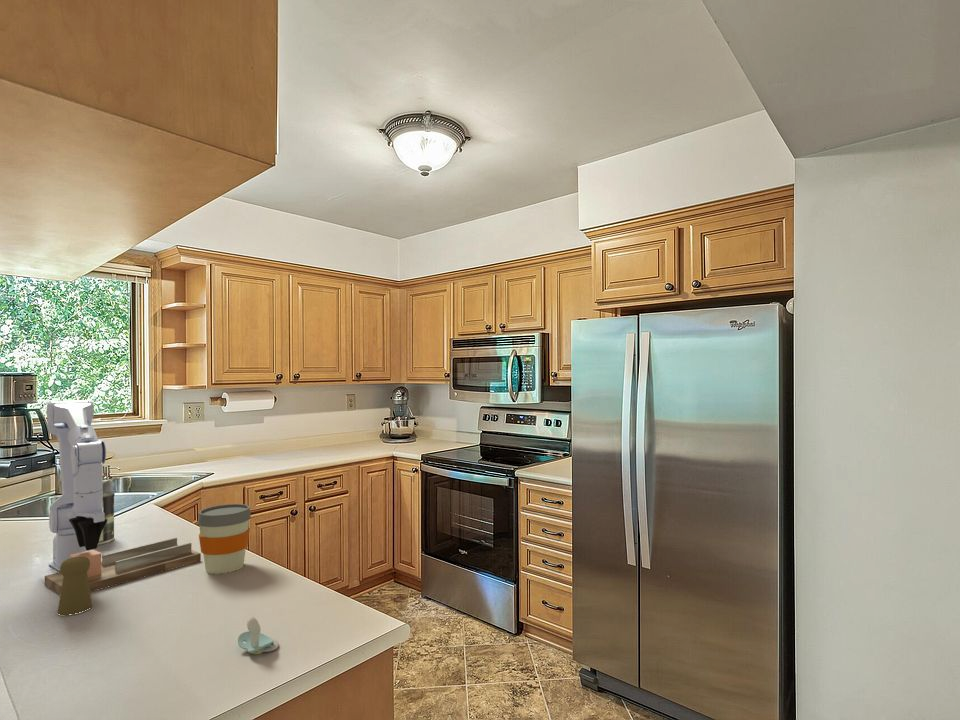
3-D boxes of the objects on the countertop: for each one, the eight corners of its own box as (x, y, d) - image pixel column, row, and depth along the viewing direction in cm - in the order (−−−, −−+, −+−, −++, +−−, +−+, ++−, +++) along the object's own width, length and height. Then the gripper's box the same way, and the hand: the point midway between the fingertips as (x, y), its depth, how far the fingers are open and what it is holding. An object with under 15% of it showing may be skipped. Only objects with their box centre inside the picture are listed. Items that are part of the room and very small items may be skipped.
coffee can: (105, 535, 172) (105, 490, 172) (120, 540, 166) (121, 493, 167) (66, 543, 163) (66, 496, 164) (82, 549, 158) (82, 500, 158)
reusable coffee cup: (205, 580, 132) (205, 518, 133) (191, 567, 142) (191, 509, 142) (258, 568, 140) (257, 509, 141) (242, 556, 150) (241, 501, 150)
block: (69, 576, 131) (69, 555, 131) (93, 569, 135) (93, 549, 135) (76, 580, 128) (76, 559, 128) (101, 573, 132) (101, 553, 132)
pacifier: (263, 637, 104) (233, 649, 99) (264, 604, 104) (234, 614, 99) (286, 649, 99) (255, 662, 94) (286, 614, 99) (256, 625, 95)
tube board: (44, 584, 131) (44, 565, 131) (174, 550, 155) (174, 534, 155) (66, 598, 122) (66, 578, 122) (200, 560, 146) (200, 544, 147)
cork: (73, 617, 113) (73, 563, 113) (49, 615, 114) (50, 562, 114) (99, 604, 119) (99, 554, 119) (76, 602, 120) (76, 552, 120)
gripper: (58, 490, 134) (57, 546, 133) (79, 498, 125) (79, 557, 125) (91, 485, 139) (91, 539, 139) (114, 492, 131) (114, 549, 130)
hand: (88, 547), depth 132 cm, fingers open, 4 cm apart
